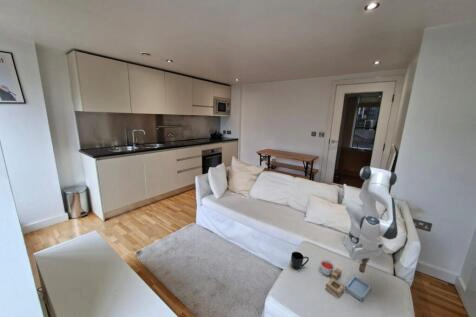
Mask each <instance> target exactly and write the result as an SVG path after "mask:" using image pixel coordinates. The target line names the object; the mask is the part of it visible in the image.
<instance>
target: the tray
mask: <svg viewBox="0 0 476 317" xmlns="http://www.w3.org/2000/svg"><path fill="white" fill-rule="evenodd" d="M344 286H345V288H344V292H345V293H348V294H350V295H351V296H353V298H355V299H356V300H358V301H359V302H361V303H363V301H364V300H365V298H366V297H367V296H368V294H369V292H370V291H371V287H372V285H371V284H369V283H367V282H366V281H364V280H363V279H361V278H359V277H358V276H356V274H355V275H353V277H351V279H350V280H349V281H348V283H347V284H346V285H344Z"/></svg>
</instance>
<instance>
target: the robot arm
mask: <svg viewBox="0 0 476 317" xmlns="http://www.w3.org/2000/svg"><path fill="white" fill-rule="evenodd" d="M359 177H360V179H362V180H363V181H364V182H363V183H362V186H361V189H360V192H359V195H358V197H359V200H361V202H362V204H361V203H359V202H357V201H351V200H350V201H348V202H347V203H346V205H345V211H346V212H347V213H348V215H349V219H350V229H349V232H348V235H346V236H345V240H344V241H343V242H342V244H343V246H344V247H345V249H346V250H347V251H348V252H349V255H348V256H349V258H350V259H351V260H352V261H358V264H359V265H360V264H363V261H362V259H364V258H367V263H366V264H368V263H369V261H370V260H371V259H372V258H374V257H380V256H381V255H382V252H383V247H384V246H385V245H384V243H383V242H381V241H379V240H378V238H379V236H380V237H382V238H384V239H387V240H389V241H390V240H394V239H397V237H398V235H399V229H398V223H397V214H396V213H397V212H396V203H395V199H394V197H393V196H391V194H390V187H392V186H394V185H395V184H396V182H397V181H398V175H397V173H395V172H393V171H390V170H386V169H383V168H379V167H373V166H372V167H371V166H368V165H367V166H365V165H364V166H363V167H362V168H361V169H360V172H359ZM376 203H378V204H381V205H382V206H384V207H385V209H386V214H387V215H386V216H387V220H383V219H381V215H380V213H379V212H378V210H377V204H376Z"/></svg>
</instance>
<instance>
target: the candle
mask: <svg viewBox="0 0 476 317" xmlns="http://www.w3.org/2000/svg"><path fill="white" fill-rule="evenodd" d="M334 270H335V264H334V263H333V262H332V261H330V260H329V259H321V261H320V272H321V273H322V274H323V275H325V276H331V274H332V272H333V271H334Z"/></svg>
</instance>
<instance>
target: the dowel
mask: <svg viewBox="0 0 476 317" xmlns="http://www.w3.org/2000/svg"><path fill="white" fill-rule="evenodd" d="M362 261H363V264H360V263H359V268H358V271H359V272H360V273H361V274H364V273H365V271H366V268H367V264H368V263H367V258H364V259H362Z"/></svg>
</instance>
